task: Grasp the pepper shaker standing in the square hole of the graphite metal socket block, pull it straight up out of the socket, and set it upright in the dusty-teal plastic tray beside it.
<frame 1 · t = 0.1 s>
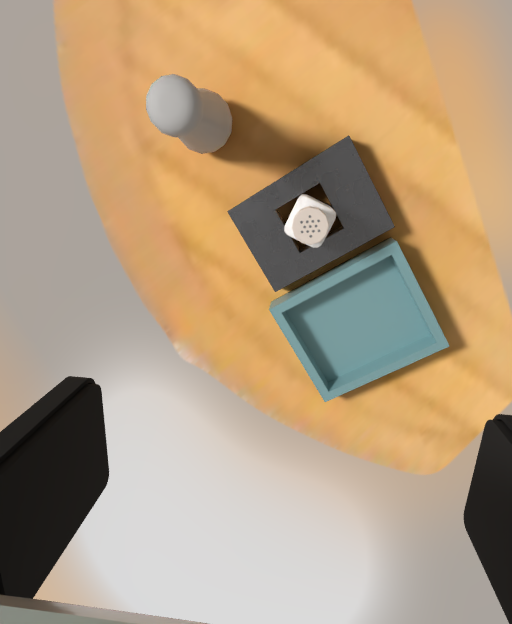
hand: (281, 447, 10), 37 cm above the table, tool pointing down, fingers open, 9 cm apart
socket block: (309, 216, 44), on the table
pepper shaker: (309, 216, 44), resting in socket block
tray: (355, 318, 47), on the table
salt shaker: (209, 125, 43), on the table
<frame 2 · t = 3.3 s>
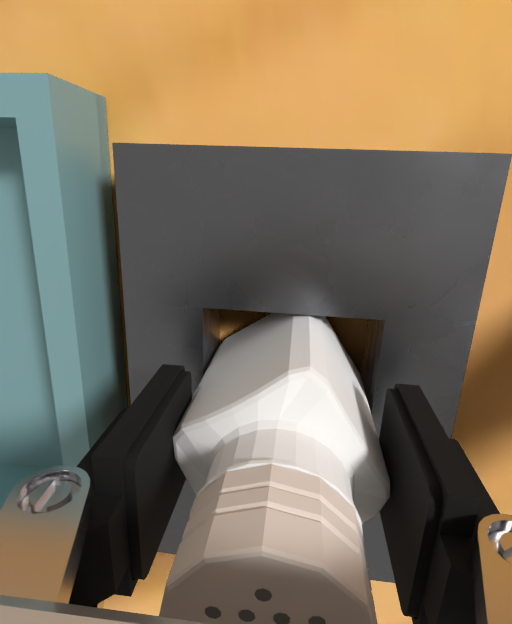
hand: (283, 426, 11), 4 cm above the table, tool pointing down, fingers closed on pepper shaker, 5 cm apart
socket block: (289, 360, 15), on the table
pepper shaker: (289, 357, 15), resting in socket block, touching gripper
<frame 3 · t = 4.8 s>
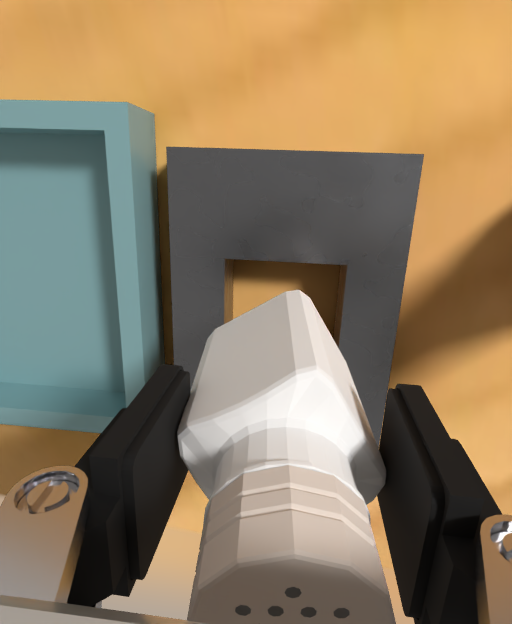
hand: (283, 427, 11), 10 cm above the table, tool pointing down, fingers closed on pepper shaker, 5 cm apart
socket block: (284, 303, 20), on the table
pepper shaker: (277, 346, 15), point 5 cm above the table, touching gripper
tray: (39, 269, 21), on the table
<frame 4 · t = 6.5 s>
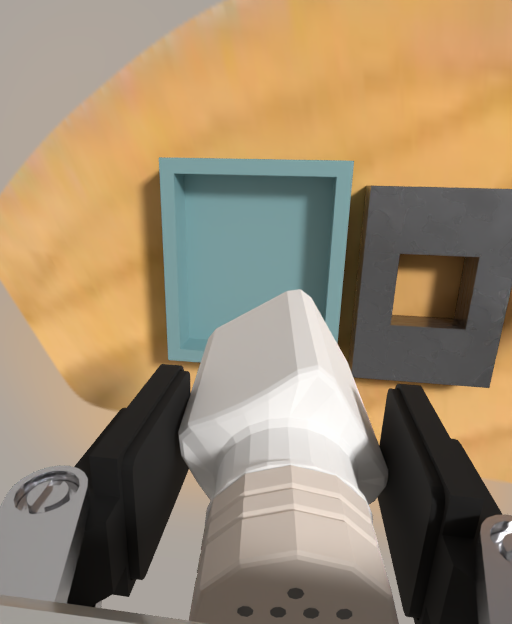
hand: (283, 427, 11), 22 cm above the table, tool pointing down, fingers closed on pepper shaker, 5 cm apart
socket block: (423, 284, 31), on the table
pepper shaker: (278, 345, 15), point 17 cm above the table, touching gripper
tray: (256, 263, 32), on the table
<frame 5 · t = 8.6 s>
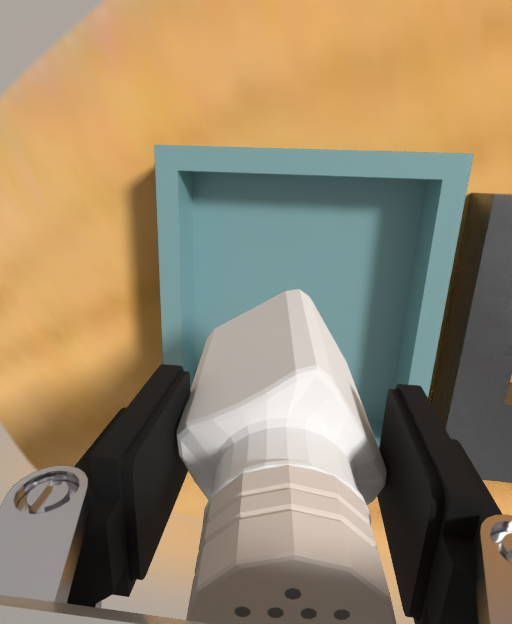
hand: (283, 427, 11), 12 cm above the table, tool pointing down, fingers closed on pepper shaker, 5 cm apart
pepper shaker: (277, 345, 15), point 7 cm above the table, touching gripper
tray: (297, 303, 22), on the table
when the fingers open (6 cm above the table, at t = 10.1 s): pepper shaker moves 1 cm, resting on tray.
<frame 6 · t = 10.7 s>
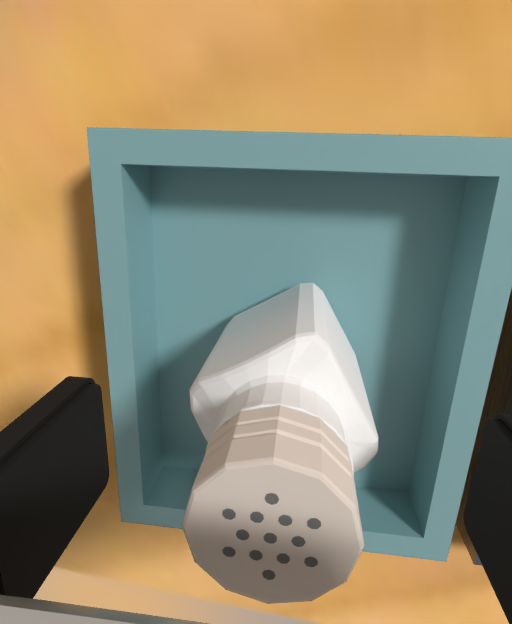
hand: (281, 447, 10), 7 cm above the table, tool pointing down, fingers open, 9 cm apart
pepper shaker: (291, 337, 16), resting on tray
tray: (291, 338, 17), on the table
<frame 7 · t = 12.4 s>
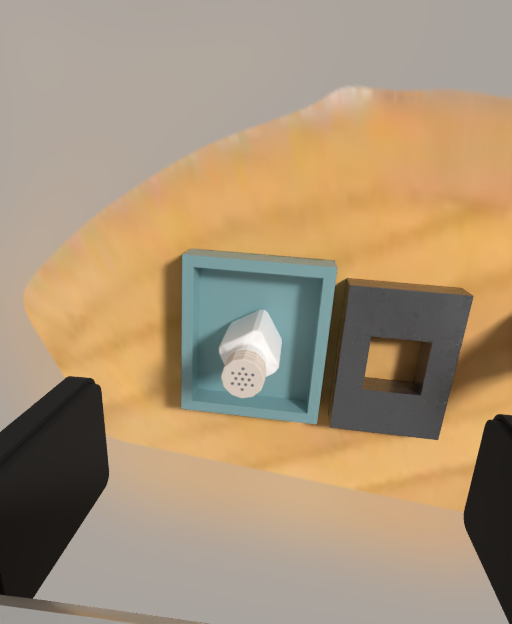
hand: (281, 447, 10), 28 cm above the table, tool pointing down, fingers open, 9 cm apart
socket block: (390, 354, 38), on the table
pepper shaker: (256, 331, 38), resting on tray
tray: (256, 331, 39), on the table
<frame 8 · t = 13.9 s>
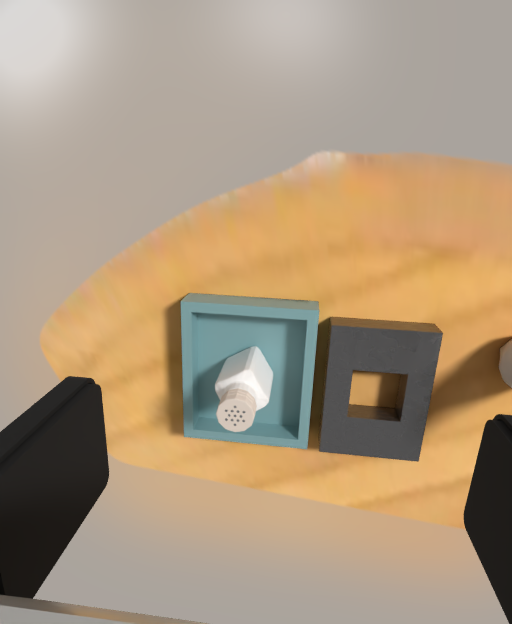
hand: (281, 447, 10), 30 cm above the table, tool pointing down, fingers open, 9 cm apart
socket block: (372, 384, 42), on the table
pepper shaker: (250, 365, 42), resting on tray
tray: (250, 365, 43), on the table
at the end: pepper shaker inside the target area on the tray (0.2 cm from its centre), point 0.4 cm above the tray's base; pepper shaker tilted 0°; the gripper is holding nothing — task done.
